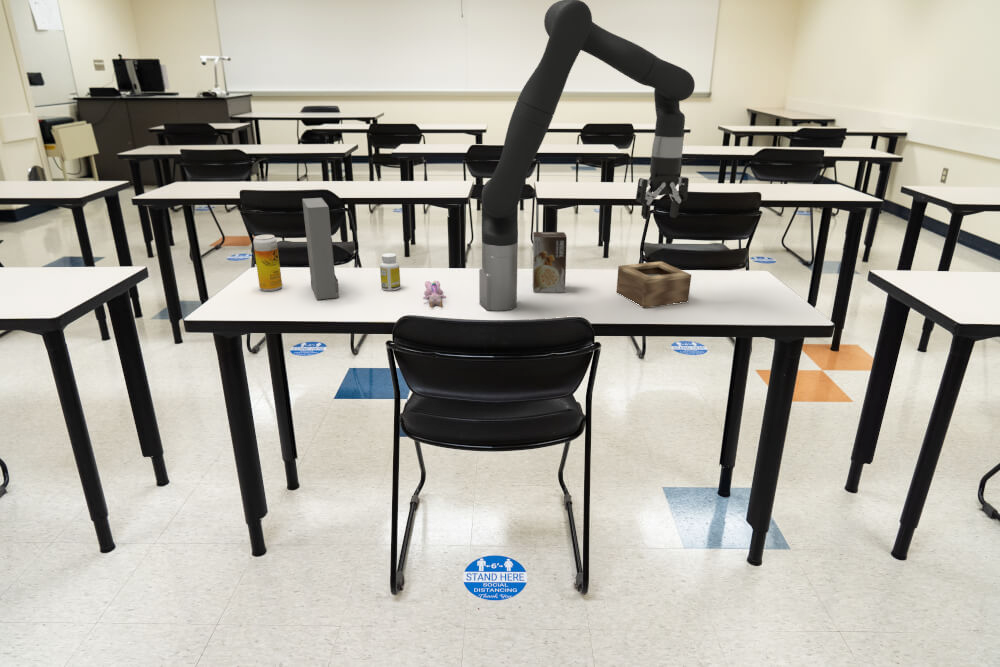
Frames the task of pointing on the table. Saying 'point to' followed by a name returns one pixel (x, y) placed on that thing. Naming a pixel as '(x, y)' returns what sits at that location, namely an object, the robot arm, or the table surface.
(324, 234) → the tall notched grey box
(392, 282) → the supplement bottle
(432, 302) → the rabbit figure
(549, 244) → the coffee box
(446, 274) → the table surface
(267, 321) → the table surface
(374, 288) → the table surface
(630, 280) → the open wooden box
